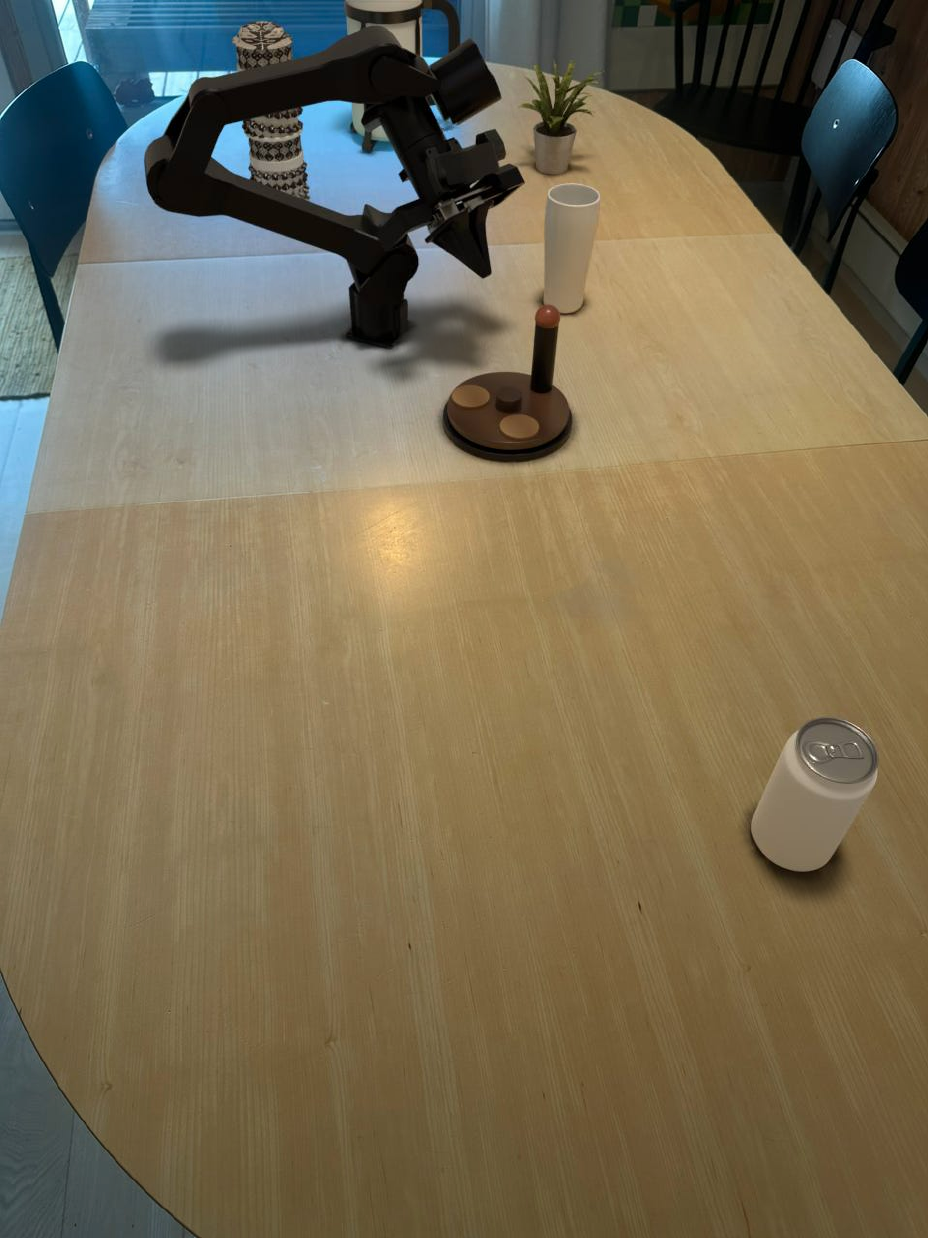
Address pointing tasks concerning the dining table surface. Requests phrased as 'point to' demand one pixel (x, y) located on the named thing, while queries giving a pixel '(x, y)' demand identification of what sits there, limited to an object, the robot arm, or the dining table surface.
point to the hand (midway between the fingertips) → (487, 276)
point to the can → (815, 793)
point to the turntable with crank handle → (514, 398)
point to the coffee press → (400, 11)
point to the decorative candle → (272, 115)
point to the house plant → (556, 119)
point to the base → (506, 454)
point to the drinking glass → (569, 243)
